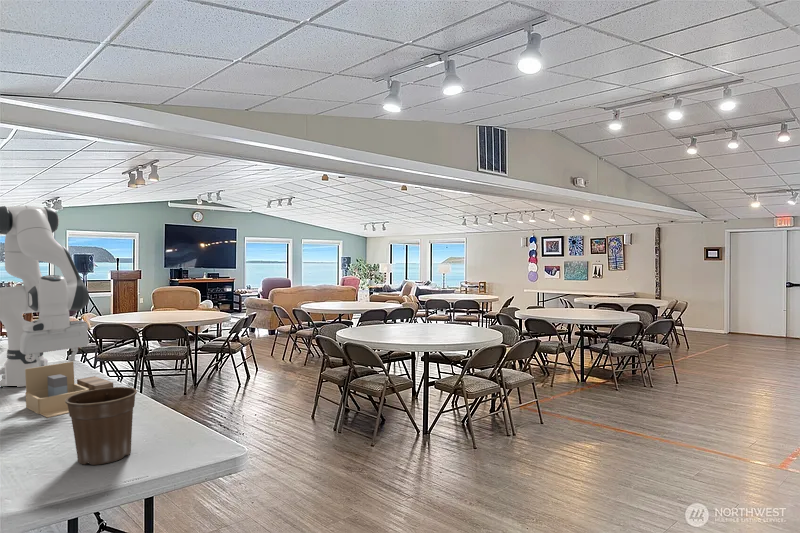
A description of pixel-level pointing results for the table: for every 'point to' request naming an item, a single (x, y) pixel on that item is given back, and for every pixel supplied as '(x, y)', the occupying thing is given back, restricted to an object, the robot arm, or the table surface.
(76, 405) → the plant pot
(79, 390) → the light wooden open box
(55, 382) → the blue-grey rectangular block
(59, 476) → the table surface
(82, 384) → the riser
